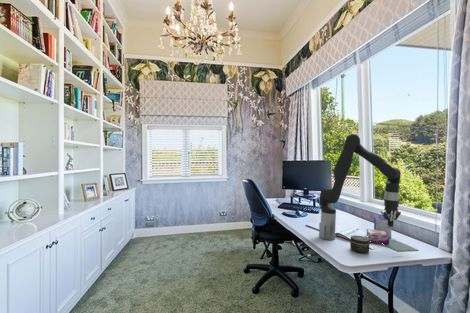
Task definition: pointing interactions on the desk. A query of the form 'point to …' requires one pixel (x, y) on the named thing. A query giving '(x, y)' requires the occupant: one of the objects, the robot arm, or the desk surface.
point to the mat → (399, 246)
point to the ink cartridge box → (382, 225)
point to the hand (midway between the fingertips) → (390, 226)
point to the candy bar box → (377, 236)
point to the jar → (359, 244)
